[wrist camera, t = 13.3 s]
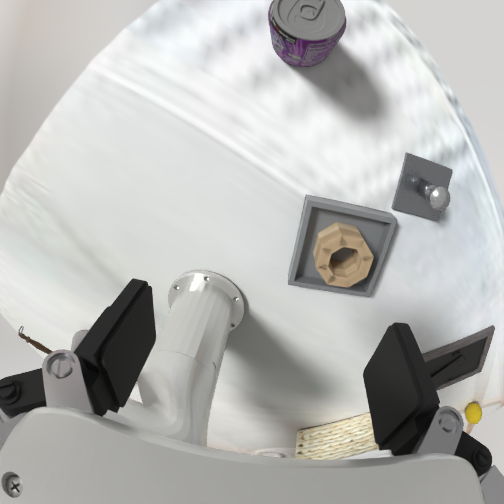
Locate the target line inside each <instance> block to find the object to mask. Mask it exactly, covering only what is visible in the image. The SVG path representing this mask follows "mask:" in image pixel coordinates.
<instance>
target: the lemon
mask: <svg viewBox="0 0 504 504" xmlns="http://www.w3.org/2000/svg"><path fill="white" fill-rule="evenodd" d="M465 416H466V419H467V421H468V422H469V423H471V424H475V423H476V424H477V423H478V422H479V420H480V419H481V417H482V410H481V407H480V405H479V404H477V403H470V404H469V406H468V407H467V408H466V411H465Z"/></svg>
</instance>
